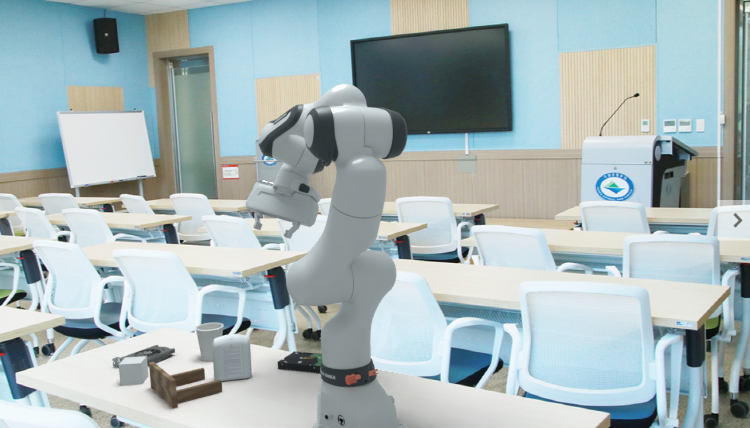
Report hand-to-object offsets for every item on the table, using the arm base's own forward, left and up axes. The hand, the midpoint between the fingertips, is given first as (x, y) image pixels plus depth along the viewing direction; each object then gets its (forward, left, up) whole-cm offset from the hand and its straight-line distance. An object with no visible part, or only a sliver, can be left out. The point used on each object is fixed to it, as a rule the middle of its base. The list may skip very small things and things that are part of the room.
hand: (271, 233), depth 179 cm
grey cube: (+25, +32, -40) cm, 58 cm away
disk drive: (+3, -11, -41) cm, 42 cm away
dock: (+7, +23, -40) cm, 47 cm away
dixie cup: (+29, +8, -40) cm, 50 cm away
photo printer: (+8, +10, -40) cm, 42 cm away
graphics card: (+39, +24, -41) cm, 62 cm away
